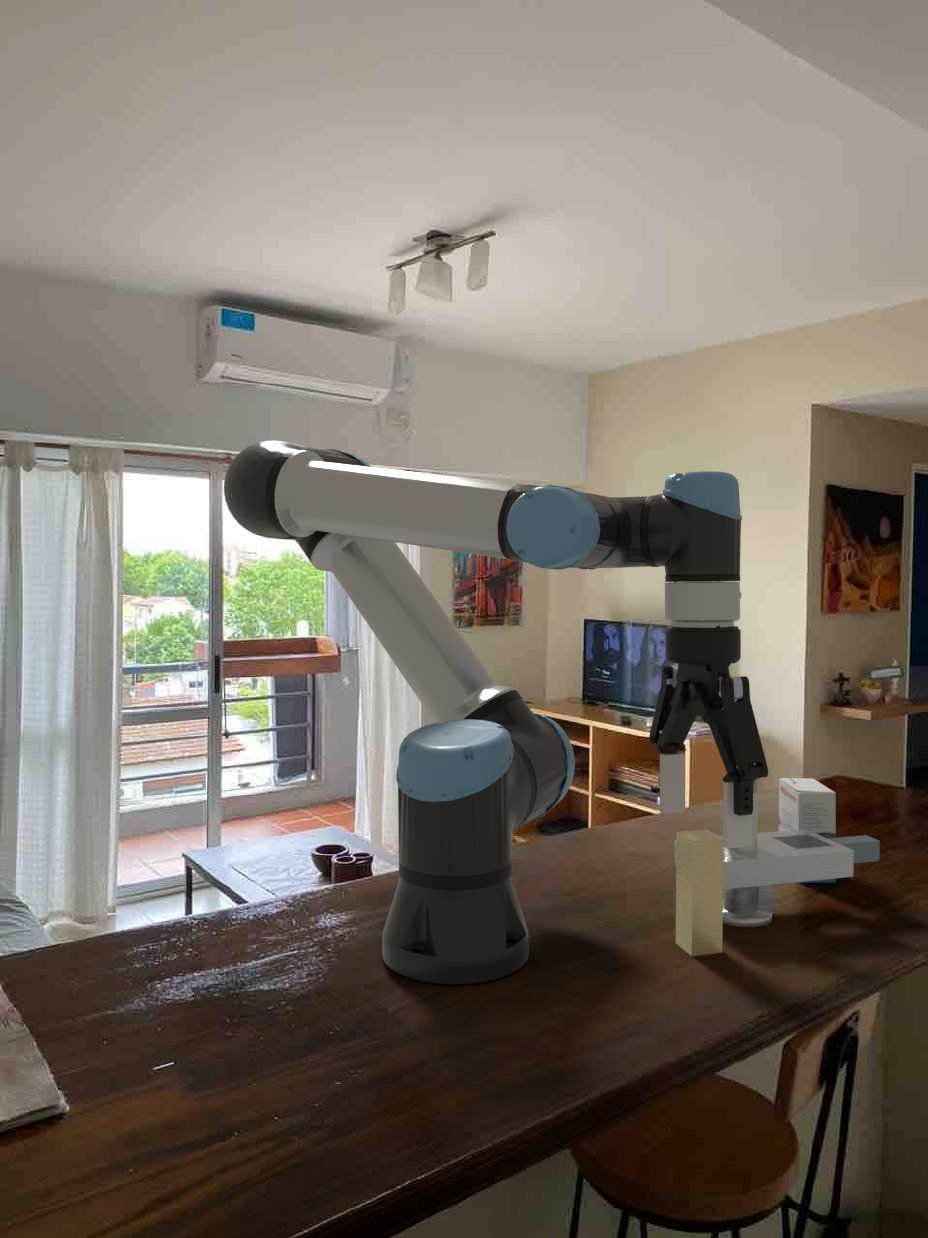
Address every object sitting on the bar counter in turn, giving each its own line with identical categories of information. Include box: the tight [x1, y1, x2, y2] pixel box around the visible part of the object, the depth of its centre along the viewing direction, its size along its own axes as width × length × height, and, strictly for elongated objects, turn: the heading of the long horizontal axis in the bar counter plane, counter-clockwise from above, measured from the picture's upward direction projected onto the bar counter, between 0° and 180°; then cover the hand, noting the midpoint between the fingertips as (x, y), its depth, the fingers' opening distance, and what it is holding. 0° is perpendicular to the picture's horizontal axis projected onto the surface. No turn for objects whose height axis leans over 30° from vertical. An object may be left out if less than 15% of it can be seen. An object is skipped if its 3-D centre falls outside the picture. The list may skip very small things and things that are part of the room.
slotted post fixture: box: [673, 792, 881, 928], centre depth 108 cm, size 24×9×14 cm, turn 104°
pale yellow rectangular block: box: [675, 828, 724, 957], centre depth 98 cm, size 4×4×12 cm
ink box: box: [778, 777, 837, 884], centre depth 122 cm, size 9×5×12 cm, turn 179°
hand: (703, 828), depth 97 cm, fingers open, 13 cm apart
